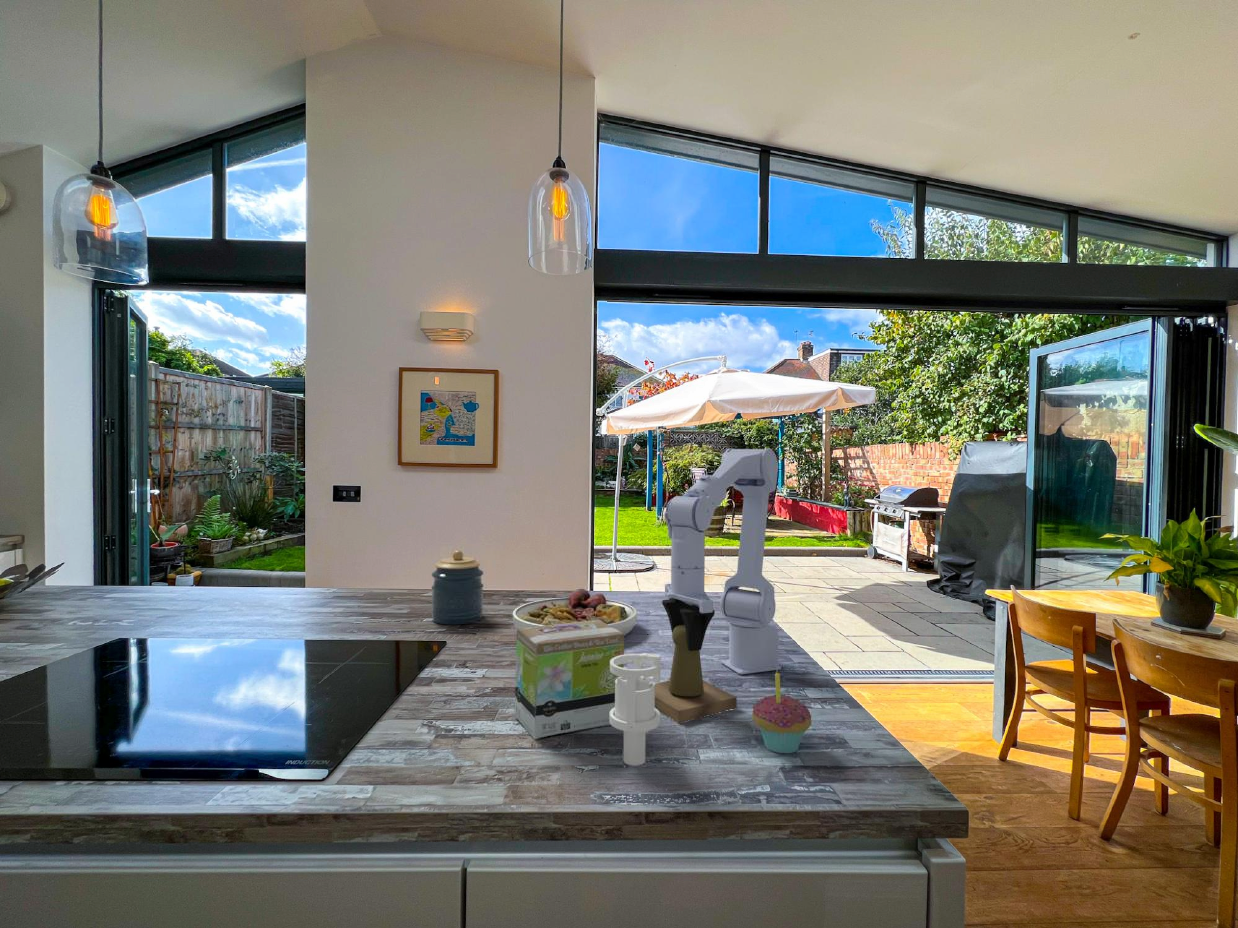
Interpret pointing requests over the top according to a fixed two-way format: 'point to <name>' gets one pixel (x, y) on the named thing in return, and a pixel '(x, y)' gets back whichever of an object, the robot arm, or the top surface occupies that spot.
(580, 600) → the bowl
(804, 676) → the top surface
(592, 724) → the tea box
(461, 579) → the canister
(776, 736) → the cupcake
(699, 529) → the robot arm
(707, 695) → the walnut board
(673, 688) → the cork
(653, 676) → the white stepped hollow cylinder
